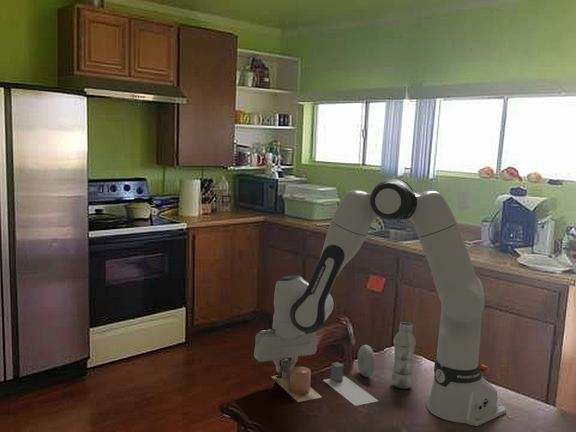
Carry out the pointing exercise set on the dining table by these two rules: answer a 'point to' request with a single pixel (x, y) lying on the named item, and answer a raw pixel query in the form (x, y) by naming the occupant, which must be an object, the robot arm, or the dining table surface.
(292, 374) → the terracotta cylinder
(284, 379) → the oak strip
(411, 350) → the plastic bottle
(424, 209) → the robot arm
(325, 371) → the dining table surface
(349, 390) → the grey strip
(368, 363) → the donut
